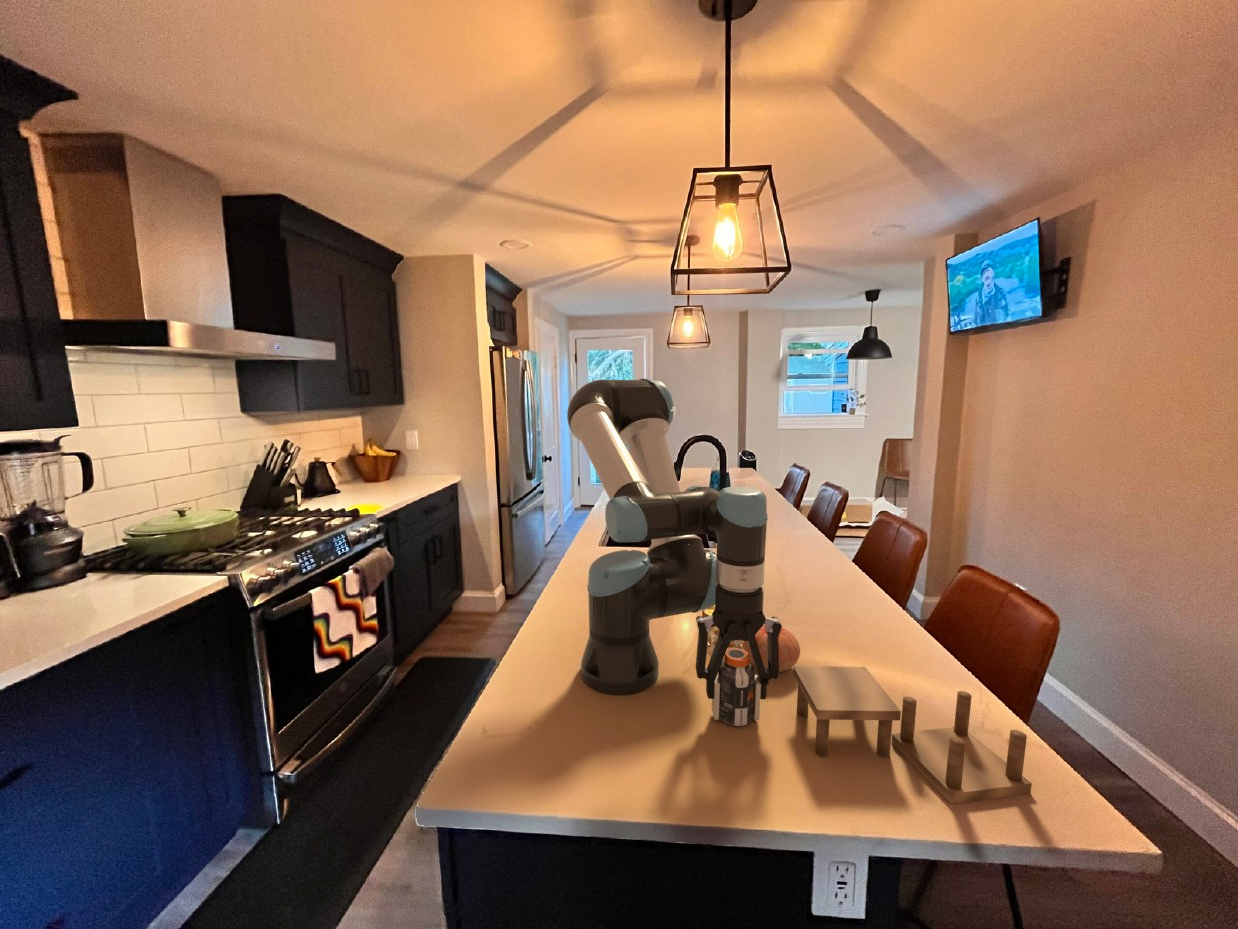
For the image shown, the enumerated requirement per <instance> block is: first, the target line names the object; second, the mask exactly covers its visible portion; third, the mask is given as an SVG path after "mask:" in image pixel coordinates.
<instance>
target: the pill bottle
mask: <svg viewBox="0 0 1238 929" xmlns="http://www.w3.org/2000/svg"><path fill="white" fill-rule="evenodd" d="M749 659H750V656H749V653H748V652H746V651H745V650H744V649H741V648H738V647H737V648H736V647H735V648H734V647H733V648H727V650H726V653H725V655H724V658H723V661H722V663H721V666H720V669H719V672H718V674H717V675H718V679H719V682H720V695H719V720H721V721H722V722H724V723H725V724H728V725H730V726H734V727H735V726H736V727H741V726H746V725H748V724H750V723H751V722H752V721H753V720H754V717H753V709H754V685H755V675H756V670H755V668H754V667H753V666H754V665H753V664H752V663H751V662H750V660H749Z"/></svg>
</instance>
